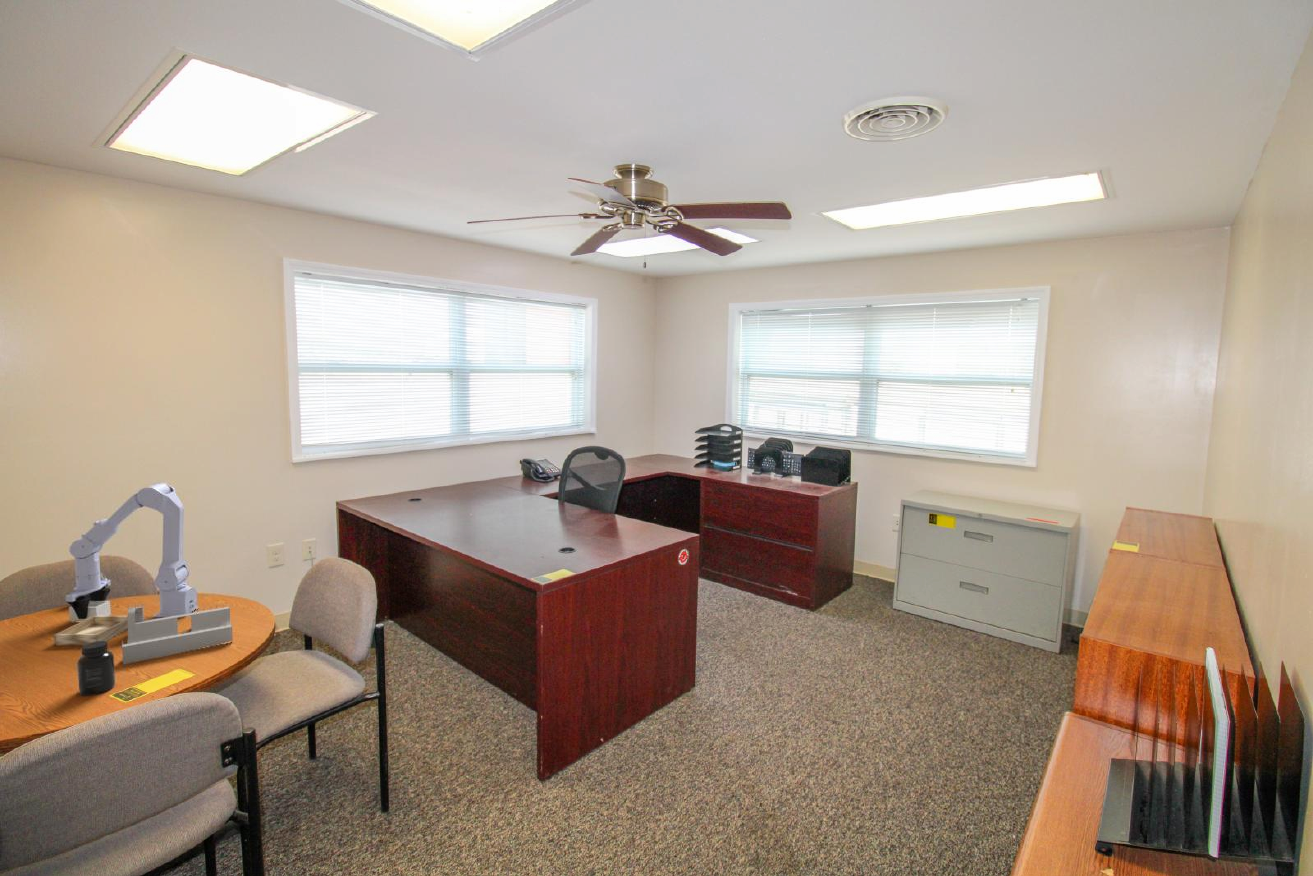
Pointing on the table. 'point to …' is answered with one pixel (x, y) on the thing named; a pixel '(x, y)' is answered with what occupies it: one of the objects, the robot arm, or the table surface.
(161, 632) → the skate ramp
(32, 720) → the table surface
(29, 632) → the table surface
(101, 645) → the supplement bottle
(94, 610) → the small crate
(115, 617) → the shallow wooden tray
